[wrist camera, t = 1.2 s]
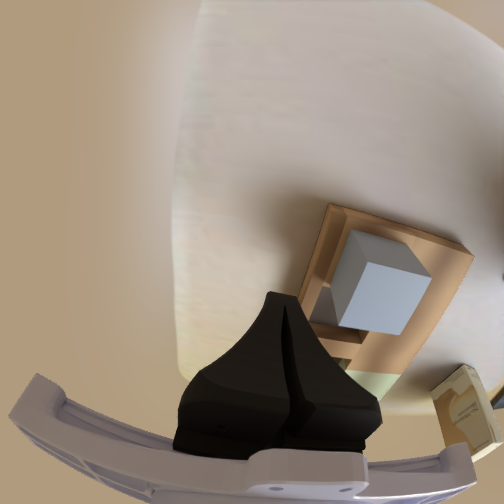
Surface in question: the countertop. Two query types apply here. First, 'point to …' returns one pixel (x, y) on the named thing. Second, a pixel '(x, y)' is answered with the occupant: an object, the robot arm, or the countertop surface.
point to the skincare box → (466, 413)
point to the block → (377, 284)
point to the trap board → (369, 342)
